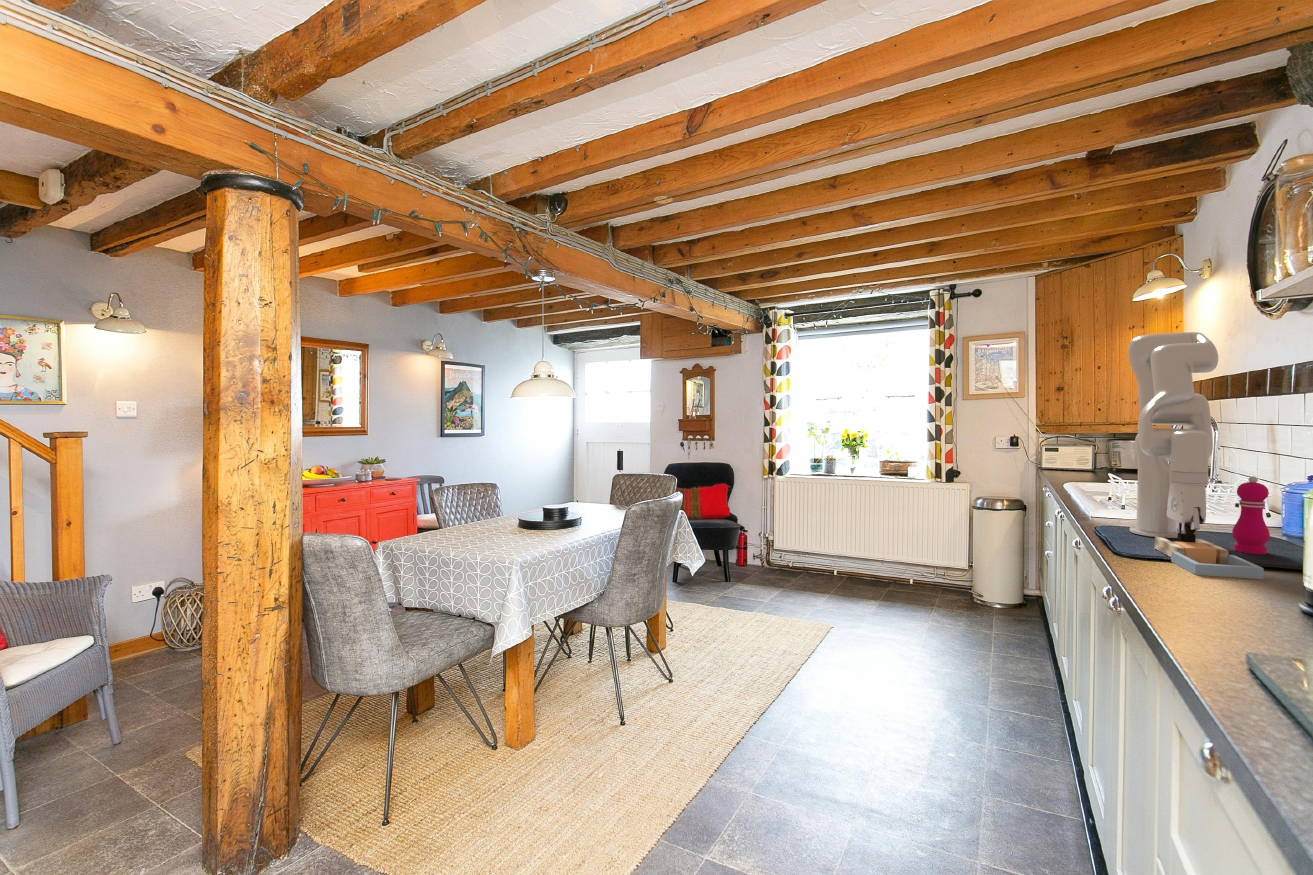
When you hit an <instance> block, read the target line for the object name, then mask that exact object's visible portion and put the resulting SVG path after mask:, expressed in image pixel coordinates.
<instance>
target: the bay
mask: <svg viewBox="0 0 1313 875" xmlns="http://www.w3.org/2000/svg"><path fill="white" fill-rule="evenodd" d="M1170 559H1171V560H1170V562H1172V563H1173V564H1174V565H1177V566H1179V567H1180V568H1183V569H1184V570H1186V571H1188V573H1191V574H1193V575H1195V576H1205V577H1207V576H1208V577H1223V578H1237V579H1239V578H1241V579H1250V580H1251V579H1255V580H1264V576H1265V575H1264V574H1265V573H1264V571H1265V570H1264V569H1265V568H1263V567H1261V566H1259V565H1257V564H1255V563H1253V562H1250V561H1248V560H1246V559H1244V558H1242V557H1239V556H1236V555H1234V554H1228V563H1227V565H1221V564H1218V563H1216V564H1203V563H1198V562H1196V561H1194V560H1192V559H1190V558H1188V557H1186V556H1184V555H1182V554H1180V553H1178V552H1172V554H1171V558H1170Z"/></svg>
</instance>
